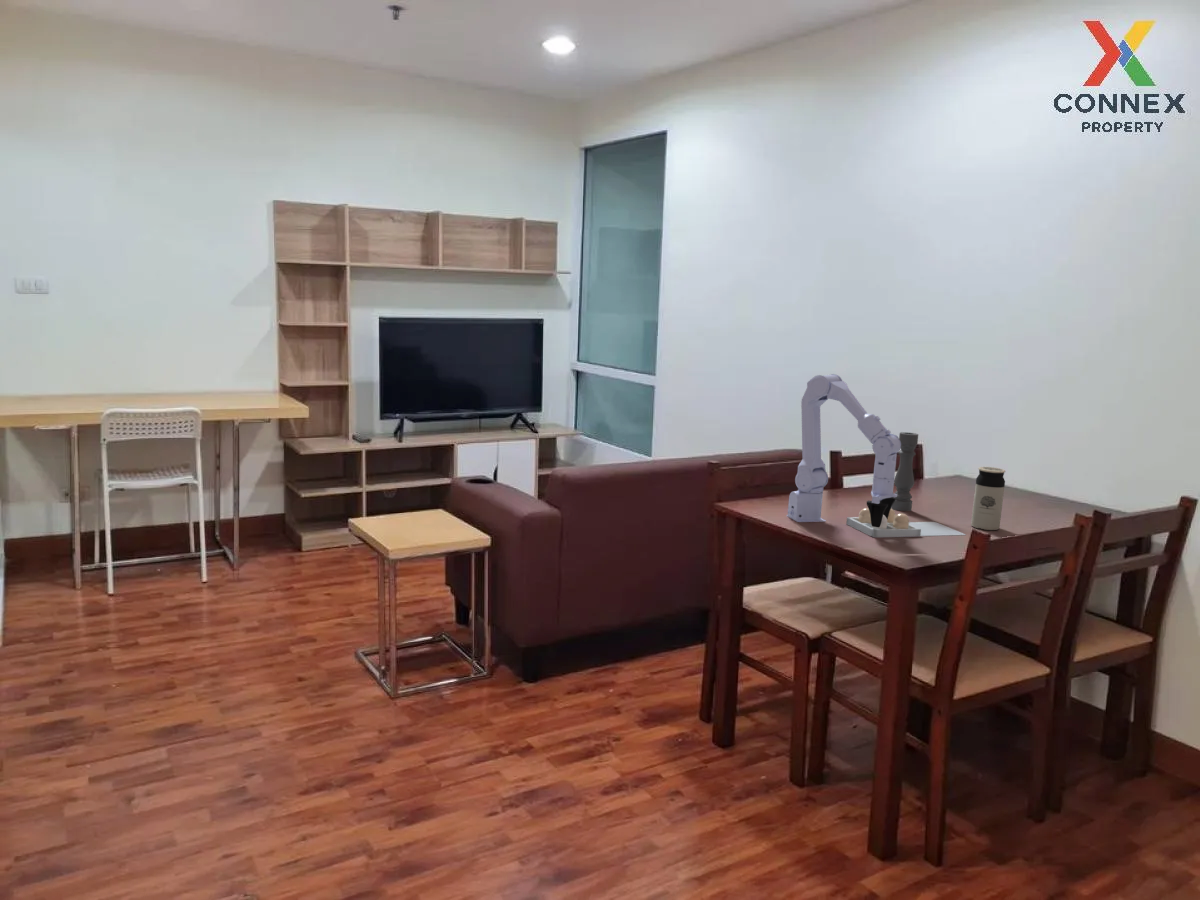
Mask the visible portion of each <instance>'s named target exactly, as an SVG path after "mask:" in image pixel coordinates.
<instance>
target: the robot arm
mask: <svg viewBox="0 0 1200 900" xmlns="http://www.w3.org/2000/svg"><path fill="white" fill-rule="evenodd" d="M828 400H833V401H838V402H840V403H841V405H843V407H844V408H845V409H846V410H847V411H848V412H849V413H850V414H851V415H852V416H853V417H854V419H856V421H857V428H858V429H859V431H861V433H862V434H863V435H864V437H865V438H866V439H867V440H868V441H869V442H870V444H871V448H872V450H873V453H874V456H875V458H874V467H873V476H872V487H871V491H870V495H871V500H867V501H866V506H867V508H869V511H870V517H871V524H872V526H873V527H880V525H881V522H882V517H883V515H885V516H886V518H887V519H888V516H889V512H890V510H891V507H892V505H893V503H894V502H895V500H896V498H895V497H897V494H895V492H894V488H895V487H894V486H895V484H894V479H895V476H896V467H897V454H898V452H899V451H900V450H901V442H900V440H899V436H898V435H896V434H894V433H892V432H891V430H890V429H887V428H886V427H885V426H884V424H883V423H882V422H881V421H880V420H881V418H880V416H879V415H875V414H874V413H868V412H867V410H866V409H865V408H864V406H863V405H862V404H861V403H860V401H858V399H857V398H856V396H855V395H854V393H853V392H852V391H851V390H850V388H849V386H848V384H847V383H846V382H845V381H844V380H843V379H842V377H841V376H840V375H838V374H835V373H830V374H824V375H822V374H817V375H815V376H813V377H812V378H811V379H810V380H808V381H807V382H806V389H805V391H804V393H803V396H802V397H801V401H800V402H801V405H800V406H801V448H802V449H801V450H802V451H801V453H802V456H801V457H802V459H801V461H800V462H799V464H798V465H797V473H796V475H795V478H794V482H795V485H796V487H797V490H794V491H791V492H790V493H789V496H788V504H787V505H788V506H787V514H786V515H785V516H786V517H788V518H790V519H791V520H793V521H795V522H797V523H809V522H810V523H814V522H815V523H817V522H819V523H820V522H827V520H826V519H823V518H822V509H823V508H822V507H823V497H824V487H826V485H827V484H828V483H829V474H828V472H827V470H826V464H825V462H824V461H823V460H822V446H821V445H822V440H821V437H822V436H821V435H822V434H821V407H822V405H823V404H825V402H826V401H828Z"/></svg>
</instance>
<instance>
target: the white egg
mask: <svg viewBox="0 0 1200 900" xmlns="http://www.w3.org/2000/svg"><path fill="white" fill-rule="evenodd" d="M871 528H873V529H887V518H886V516H885V515H883V517H882V522H881V525H880V527H873V526H872V525H871Z"/></svg>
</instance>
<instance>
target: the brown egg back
mask: <svg viewBox="0 0 1200 900" xmlns="http://www.w3.org/2000/svg"><path fill="white" fill-rule="evenodd" d="M909 522H910V519H909V517H908V515H907V514H905V513H902V512H900V513H896V514H895V517H894V521H893V527H894V528H896V529H908V526H909Z"/></svg>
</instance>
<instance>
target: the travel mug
mask: <svg viewBox="0 0 1200 900" xmlns="http://www.w3.org/2000/svg"><path fill="white" fill-rule="evenodd" d="M977 469H978V472H979V473H978V475H977V477H976V478H975V487H974V496H973V503H972V512H971V522H970V525H971V526H972V527H973V528H975V529H978V528H981V529H980V530H982V529H984V530H983V531H997V530H1000V526H1001V519H1002V510H1003V501H1004V494H1005V485H1006V480H1005V477H1004V475H1005V473H1006V470H1005V468H1004V469H1003V468H999V467H994V466H993V467H992V466H979V467H978V468H977Z"/></svg>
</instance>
